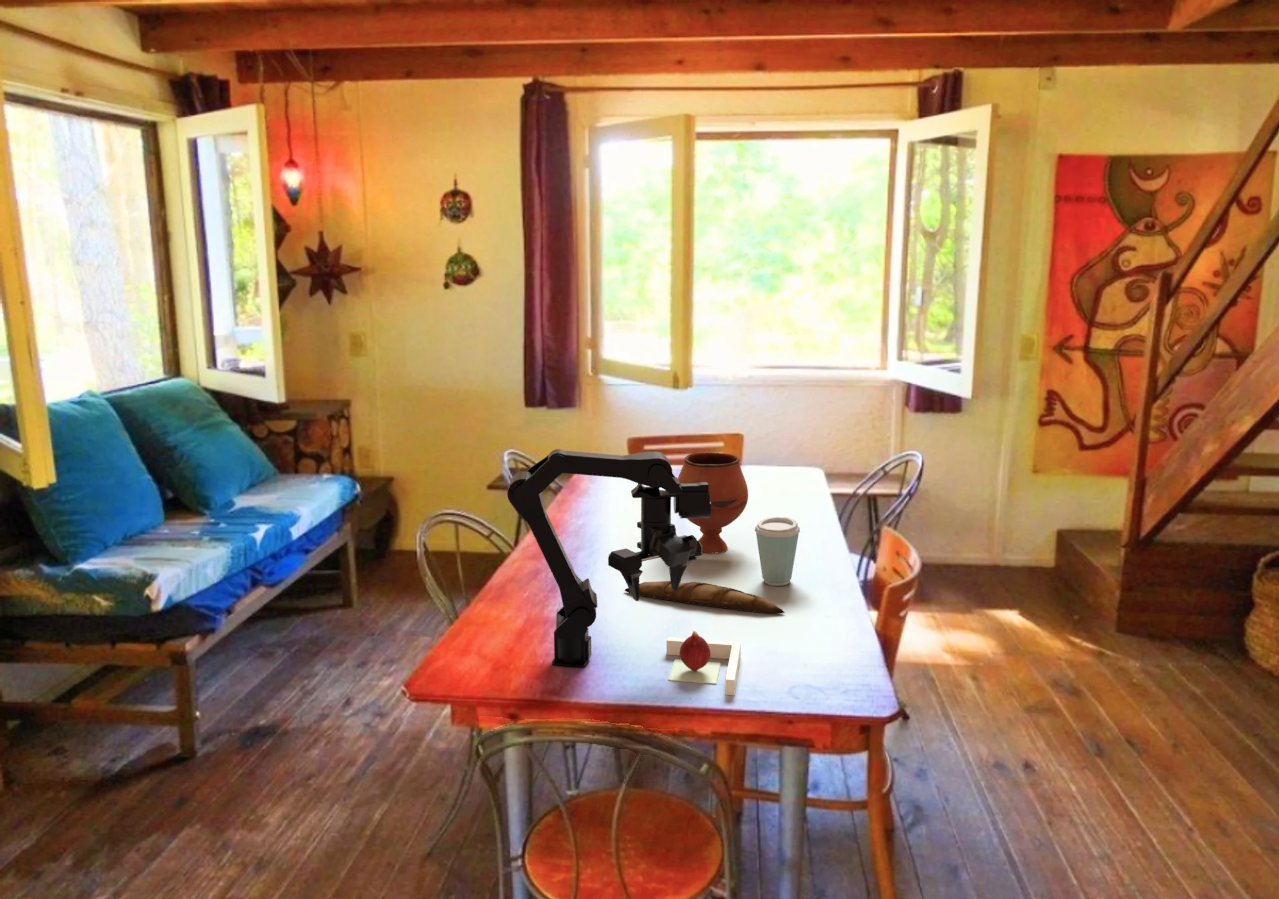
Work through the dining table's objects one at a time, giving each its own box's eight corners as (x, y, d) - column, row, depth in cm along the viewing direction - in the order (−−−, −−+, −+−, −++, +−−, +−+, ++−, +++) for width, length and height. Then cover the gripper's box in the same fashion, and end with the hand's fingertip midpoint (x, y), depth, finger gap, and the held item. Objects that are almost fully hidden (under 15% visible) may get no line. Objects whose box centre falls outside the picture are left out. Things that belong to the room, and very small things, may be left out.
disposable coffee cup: (784, 592, 222) (786, 531, 219) (744, 582, 228) (746, 523, 225) (805, 580, 230) (808, 520, 227) (766, 570, 237) (768, 512, 233)
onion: (716, 670, 182) (716, 631, 180) (697, 680, 178) (697, 640, 176) (692, 661, 186) (693, 623, 184) (673, 671, 181) (673, 632, 180)
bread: (620, 597, 220) (620, 576, 219) (628, 589, 225) (628, 569, 224) (782, 620, 207) (783, 598, 206) (787, 611, 212) (787, 590, 211)
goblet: (664, 541, 260) (665, 452, 254) (729, 534, 265) (731, 447, 260) (688, 563, 242) (690, 468, 236) (758, 556, 247) (760, 463, 242)
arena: (654, 688, 175) (654, 673, 174) (667, 651, 191) (667, 637, 190) (734, 695, 172) (734, 680, 172) (740, 656, 188) (740, 642, 188)
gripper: (640, 537, 170) (640, 619, 173) (720, 520, 180) (719, 597, 184) (606, 522, 179) (606, 601, 182) (684, 507, 189) (683, 581, 193)
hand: (655, 595), depth 185 cm, fingers open, 9 cm apart
